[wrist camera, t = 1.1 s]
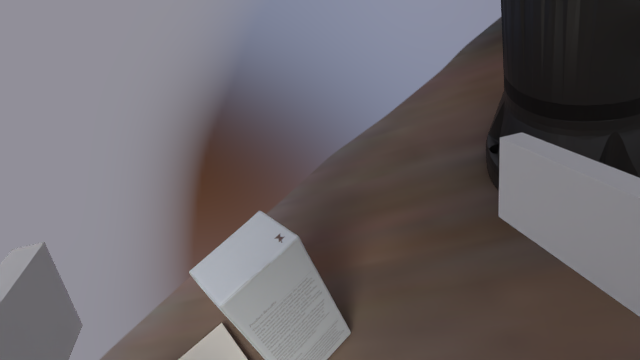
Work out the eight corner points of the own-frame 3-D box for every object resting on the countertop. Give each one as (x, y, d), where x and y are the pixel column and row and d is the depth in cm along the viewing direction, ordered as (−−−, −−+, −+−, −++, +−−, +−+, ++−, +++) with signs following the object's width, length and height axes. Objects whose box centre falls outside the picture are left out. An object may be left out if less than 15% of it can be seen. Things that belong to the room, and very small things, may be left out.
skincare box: (317, 303, 36) (261, 206, 28) (353, 334, 33) (301, 234, 25) (262, 359, 34) (185, 270, 26) (295, 397, 31) (219, 309, 23)
